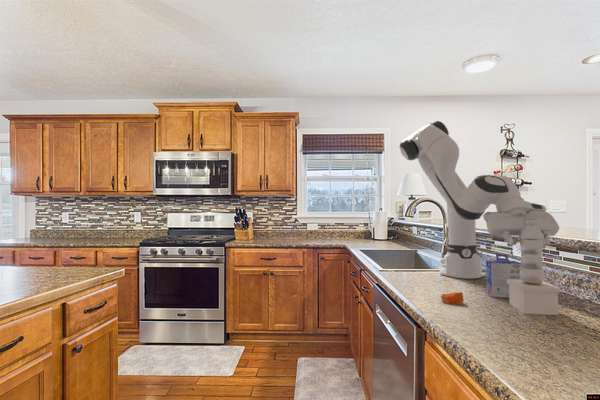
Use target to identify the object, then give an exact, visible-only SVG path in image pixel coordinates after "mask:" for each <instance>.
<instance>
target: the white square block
mask: <svg viewBox="0 0 600 400" xmlns="http://www.w3.org/2000/svg"><path fill="white" fill-rule="evenodd" d="M507 283H508V284H509V298H508V299H509V305H510V306H512V307H513V308H515V309H516V310H518V311H519V312H521V313H522V314H523V315H524V314H525V315H542V316H543V315H545V316H546V315H547V316H559V293H561V291H562V290H561V287H558V286H555V285H554V284H552V283H549V282H546V281H544V282H543V283H541V284H530V283H526V282H523V281H522V280H520V279H507Z"/></svg>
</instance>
